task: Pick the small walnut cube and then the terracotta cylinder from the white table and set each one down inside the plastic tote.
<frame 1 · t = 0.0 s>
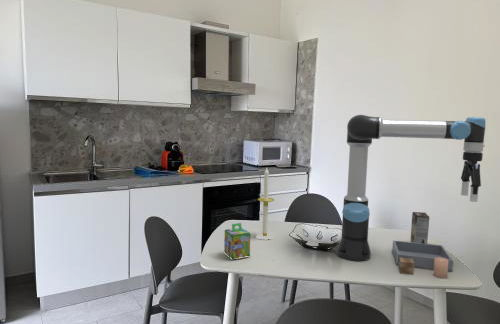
hand: (468, 198, 168), 28 cm above the table, tool pointing down, fingers open, 13 cm apart
terracotta cylinder: (440, 275, 151), on the table
tote: (420, 260, 167), on the table
chalk box: (236, 256, 168), on the table
walnut cube: (405, 271, 154), on the table
coffee box: (418, 245, 188), on the table
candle: (264, 237, 195), on the table
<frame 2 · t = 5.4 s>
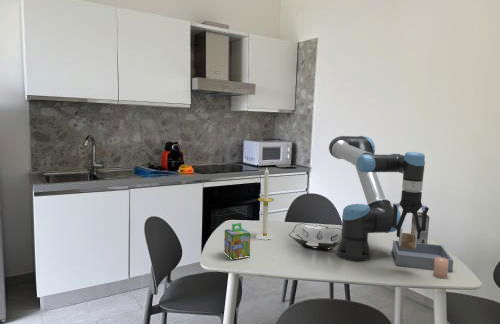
hand: (407, 245, 153), 11 cm above the table, tool pointing down, fingers closed on walnut cube, 5 cm apart
walnut cube: (407, 246, 153), point 11 cm above the table, touching gripper
everything else where it was.
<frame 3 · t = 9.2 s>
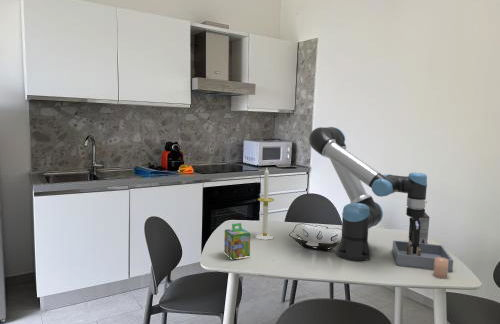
hand: (412, 257, 168), 1 cm above the table, tool pointing down, fingers closed on tote, walnut cube, 5 cm apart
walnut cube: (413, 258, 168), point 1 cm above the table, touching gripper, tote
everything else where it was.
when the fingers open (1 cm above the table, at t = 10.4 s): walnut cube stays where it is, resting on tote.
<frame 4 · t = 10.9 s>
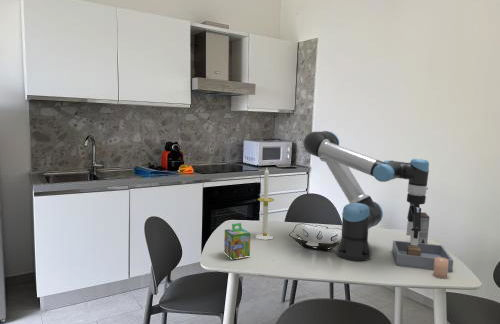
hand: (411, 240, 167), 9 cm above the table, tool pointing down, fingers open, 13 cm apart
walnut cube: (413, 258, 168), point 1 cm above the table, touching tote
everything else where it was.
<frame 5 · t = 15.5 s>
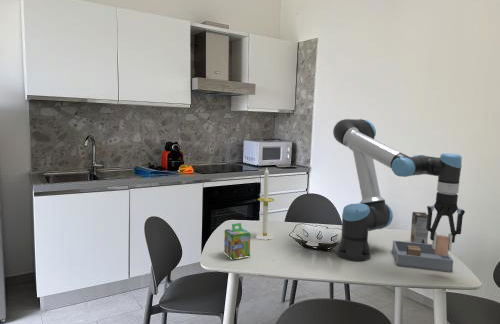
hand: (441, 248, 150), 11 cm above the table, tool pointing down, fingers closed on terracotta cylinder, 5 cm apart
terracotta cylinder: (440, 253, 150), point 9 cm above the table, touching gripper
everything else where it was.
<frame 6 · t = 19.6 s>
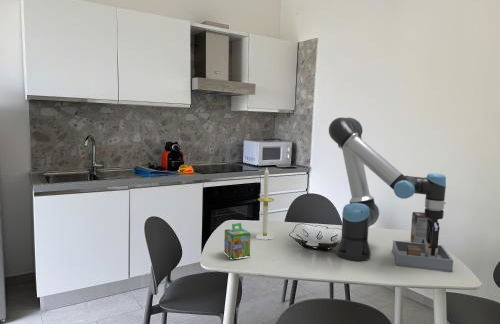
hand: (430, 259, 166), 1 cm above the table, tool pointing down, fingers closed on terracotta cylinder, 5 cm apart
terracotta cylinder: (430, 260, 166), point 1 cm above the table, touching gripper, tote
everything else where it was.
when the fingers open (1 cm above the table, at t = 19.6 s): terracotta cylinder stays where it is, resting on tote.
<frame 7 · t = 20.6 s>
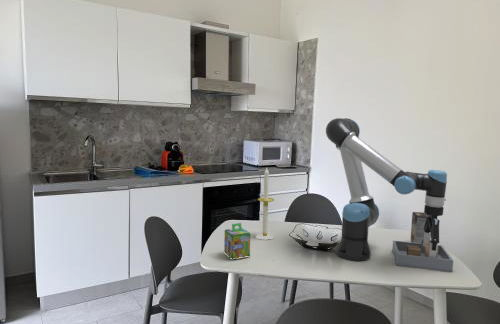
hand: (429, 251, 166), 4 cm above the table, tool pointing down, fingers open, 13 cm apart
terracotta cylinder: (430, 260, 166), point 1 cm above the table, touching tote
everything else where it was.
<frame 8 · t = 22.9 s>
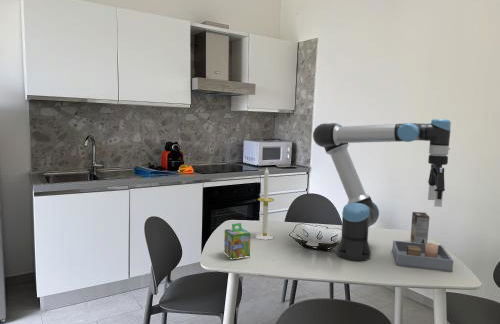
hand: (434, 203, 163), 27 cm above the table, tool pointing down, fingers open, 13 cm apart
nothing on the table moved.
at the end: walnut cube inside the target area on the tote (3.0 cm from its centre), point 0.6 cm above the tote's base; terracotta cylinder inside the target area on the tote (4.3 cm from its centre), point 0.6 cm above the tote's base; terracotta cylinder tilted 0° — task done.
